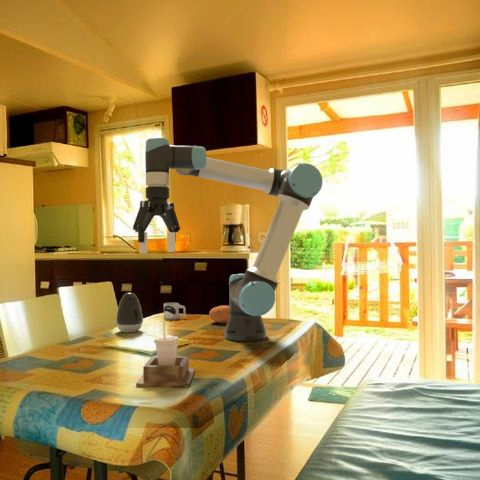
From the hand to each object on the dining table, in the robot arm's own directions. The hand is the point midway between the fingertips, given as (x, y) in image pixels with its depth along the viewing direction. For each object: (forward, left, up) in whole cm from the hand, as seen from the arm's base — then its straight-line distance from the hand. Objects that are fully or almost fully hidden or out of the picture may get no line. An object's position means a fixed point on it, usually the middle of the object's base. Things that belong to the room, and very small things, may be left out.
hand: (157, 252), depth 152 cm
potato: (-18, -48, -32) cm, 60 cm away
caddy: (-8, +30, -32) cm, 44 cm away
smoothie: (-8, +30, -31) cm, 44 cm away
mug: (+4, -59, -32) cm, 67 cm away
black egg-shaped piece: (+17, -30, -32) cm, 47 cm away
